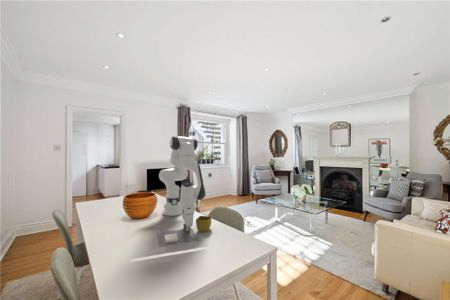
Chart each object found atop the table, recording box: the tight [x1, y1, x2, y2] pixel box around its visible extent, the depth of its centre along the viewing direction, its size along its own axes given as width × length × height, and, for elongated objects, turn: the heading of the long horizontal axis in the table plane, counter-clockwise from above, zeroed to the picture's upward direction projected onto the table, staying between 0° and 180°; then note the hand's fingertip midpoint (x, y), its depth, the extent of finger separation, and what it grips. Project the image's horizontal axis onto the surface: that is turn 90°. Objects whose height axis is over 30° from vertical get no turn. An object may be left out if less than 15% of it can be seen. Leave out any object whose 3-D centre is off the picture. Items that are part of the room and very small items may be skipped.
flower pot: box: [195, 215, 213, 233], centre depth 132 cm, size 9×9×9 cm
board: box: [157, 228, 199, 247], centre depth 121 cm, size 20×22×1 cm
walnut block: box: [182, 223, 192, 232], centre depth 130 cm, size 4×4×4 cm
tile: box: [165, 233, 178, 243], centre depth 117 cm, size 2×7×8 cm
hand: (186, 228), depth 130 cm, fingers closed on walnut block, 4 cm apart
